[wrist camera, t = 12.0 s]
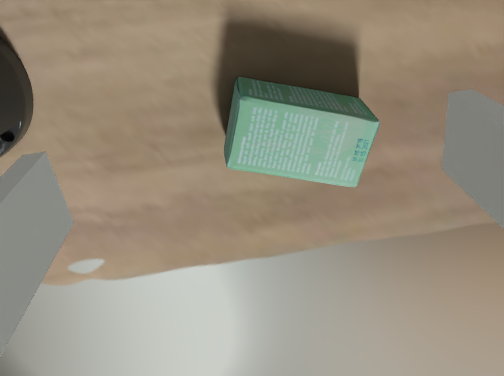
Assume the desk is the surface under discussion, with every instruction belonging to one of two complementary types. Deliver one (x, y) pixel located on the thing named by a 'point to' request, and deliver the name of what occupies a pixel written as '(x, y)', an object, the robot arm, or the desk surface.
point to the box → (298, 132)
